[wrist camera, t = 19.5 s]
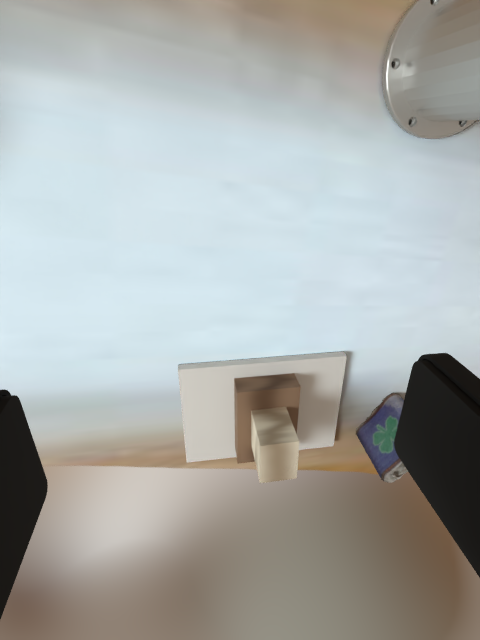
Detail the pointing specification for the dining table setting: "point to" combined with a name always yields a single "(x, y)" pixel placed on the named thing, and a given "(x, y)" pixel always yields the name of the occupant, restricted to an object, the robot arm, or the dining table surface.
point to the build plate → (218, 377)
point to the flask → (383, 438)
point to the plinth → (261, 405)
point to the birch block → (274, 444)
